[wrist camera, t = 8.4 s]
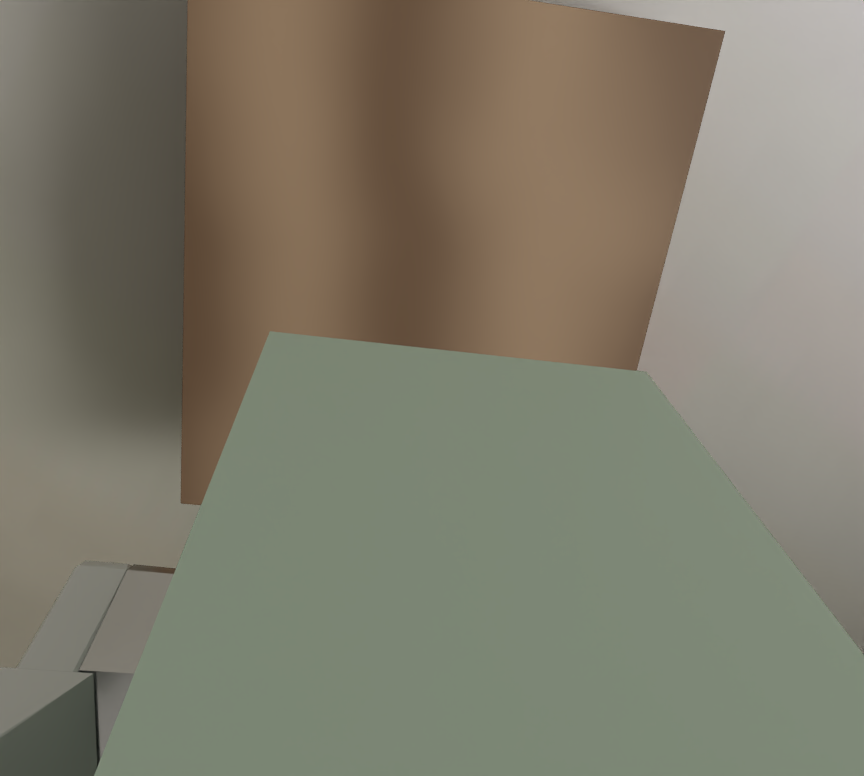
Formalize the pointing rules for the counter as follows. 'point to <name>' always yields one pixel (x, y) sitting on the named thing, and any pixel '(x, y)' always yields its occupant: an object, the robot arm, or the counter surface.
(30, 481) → the counter surface
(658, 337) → the counter surface
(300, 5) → the walnut block
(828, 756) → the sage block
